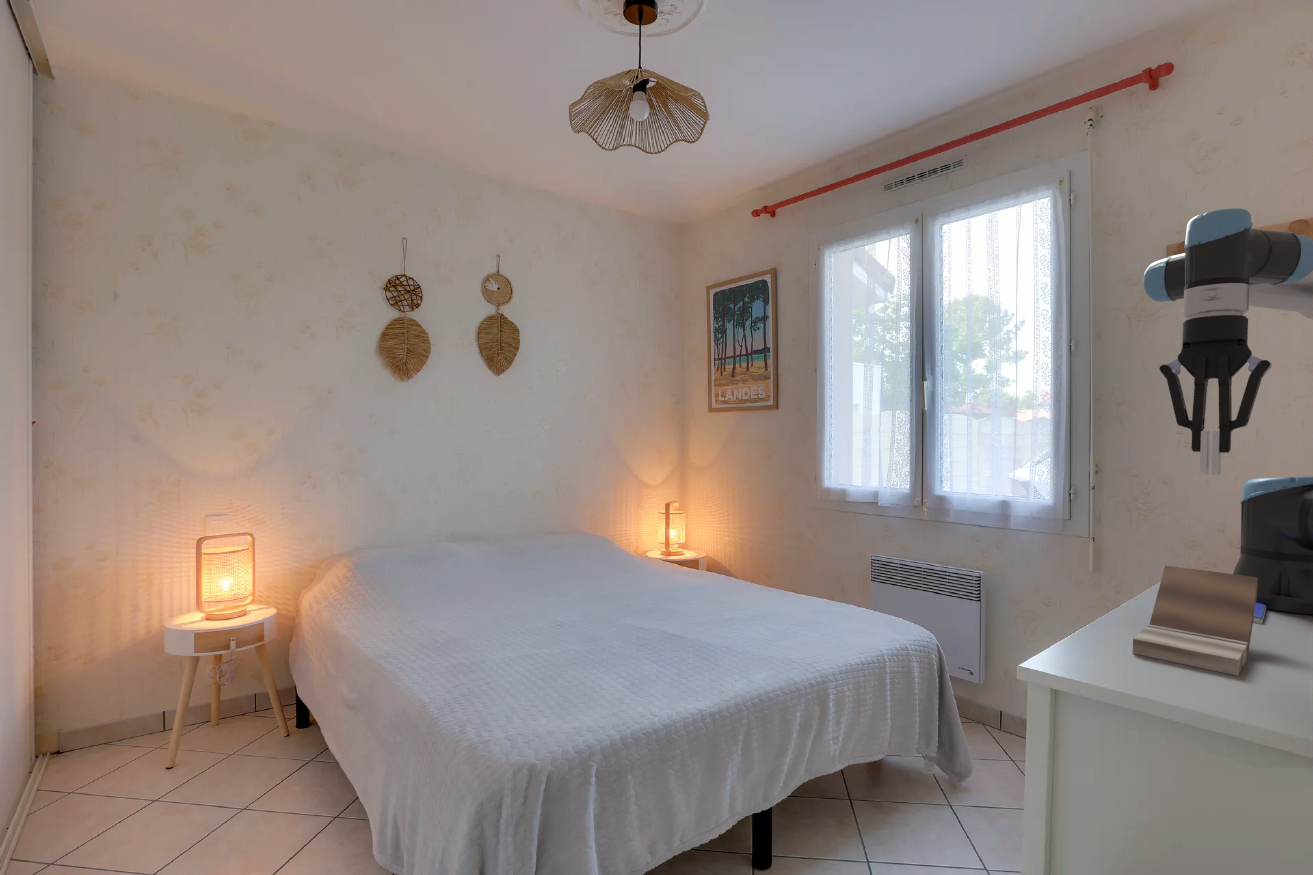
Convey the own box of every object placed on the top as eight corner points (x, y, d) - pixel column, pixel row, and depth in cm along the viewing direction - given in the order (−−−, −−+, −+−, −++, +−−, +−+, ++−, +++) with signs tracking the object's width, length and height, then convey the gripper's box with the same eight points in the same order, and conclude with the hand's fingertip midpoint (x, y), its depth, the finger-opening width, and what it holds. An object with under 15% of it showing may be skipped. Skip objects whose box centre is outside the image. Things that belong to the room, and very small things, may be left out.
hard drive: (1262, 616, 108) (1266, 603, 117) (1197, 606, 114) (1206, 594, 123) (1261, 626, 108) (1266, 612, 117) (1197, 615, 114) (1205, 603, 123)
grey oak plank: (1238, 675, 84) (1238, 658, 84) (1132, 653, 92) (1133, 637, 92) (1247, 657, 91) (1247, 642, 91) (1148, 638, 99) (1148, 624, 99)
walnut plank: (1248, 652, 92) (1248, 642, 91) (1150, 633, 100) (1149, 624, 99) (1258, 586, 99) (1257, 577, 98) (1166, 574, 107) (1165, 565, 106)
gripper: (1153, 318, 102) (1149, 472, 103) (1274, 308, 92) (1269, 478, 93) (1163, 324, 108) (1159, 471, 108) (1279, 315, 98) (1274, 476, 98)
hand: (1210, 474), depth 100 cm, fingers closed
